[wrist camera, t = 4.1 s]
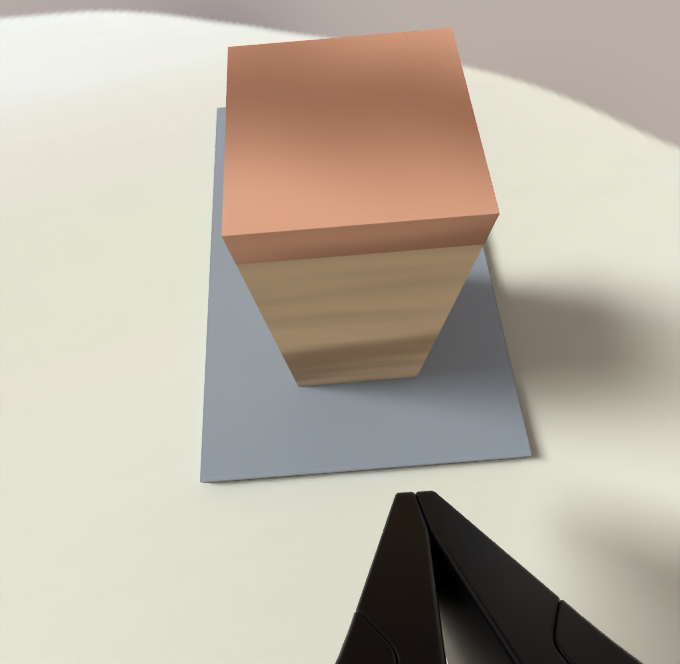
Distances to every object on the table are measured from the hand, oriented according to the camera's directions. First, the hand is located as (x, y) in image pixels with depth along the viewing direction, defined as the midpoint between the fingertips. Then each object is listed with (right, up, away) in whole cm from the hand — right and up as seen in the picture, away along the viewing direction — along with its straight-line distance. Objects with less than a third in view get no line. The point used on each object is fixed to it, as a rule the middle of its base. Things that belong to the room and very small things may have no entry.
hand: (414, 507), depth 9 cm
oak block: (-1, +4, +10) cm, 10 cm away
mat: (-1, +8, +12) cm, 14 cm away
